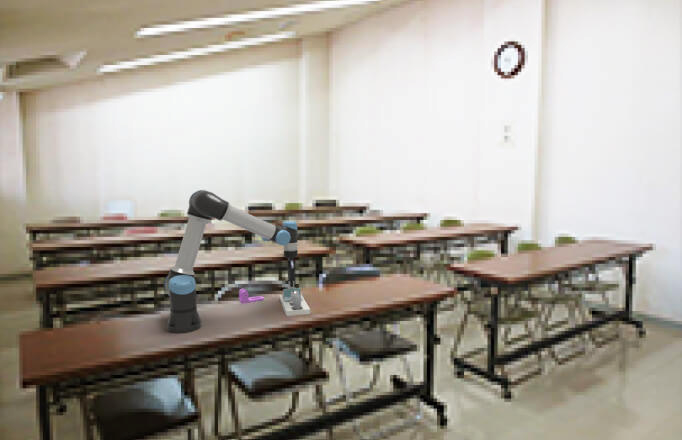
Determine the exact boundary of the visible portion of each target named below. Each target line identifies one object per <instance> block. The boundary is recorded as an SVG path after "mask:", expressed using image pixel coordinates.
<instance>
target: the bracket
mask: <svg viewBox="0 0 682 440" xmlns="http://www.w3.org/2000/svg"><path fill="white" fill-rule="evenodd" d="M238 297H239V300H238V301H239V302H240V304H242V305H244V304H250V302H252V303H257V302H256V301H259V302H263V301H264V300H265V297H264V296H261V295H260V296H250V297H249V292H248V291H247V290H246V289H245V288H241V289H239V292H238Z"/></svg>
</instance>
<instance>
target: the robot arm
mask: <svg viewBox="0 0 682 440" xmlns="http://www.w3.org/2000/svg"><path fill="white" fill-rule="evenodd" d="M186 215H187V217H188V220H187V223H186V227H185V231H184V234H183V238H182V241H181V243H180V246H179V247H180V248H179V251H178V253H177V257H176V261H175V263H174V266H172V267H170V270H169V272H168V275H167V276H166V277H165V280H164V286H163V287H164V290H165V292H166V293H167V295H168V297H169V309H170V310H169V311H170V313H169V315H168V321H167V324H166V329H168V330H167V331H168V332H170V331H171V332H170V333H175V332H177V334H179V333H180V334H181V333H190V332H192V331H196V330H199V328H201V327H202V319H201V316H200V314H199V312H198V309H197V308H198V307H197V290H196V289H197V282H196V279H195V275H196V274H195V272H194V267H195V263H196V260H197V257H198V253H199V249H200V247H201V242H202V240H203V236H204V233H205V231H206V226H207V223H209V222H211V220H212V219H215V220H218V221H220V222H221V221H225V222H227V223H230V224H233V225H235V226H236V227H239V228H242V229H244V230H246V231H247V232H251V233H253V234H255V235H257V236H259V237H261V240H262V241H263V242H273V243H276V244H278V245H280V246H283V247H282V249H283V257H284V258H286V259H287V260H286V265H287V282H288V289H294V288H295V279H296V278H295V275H296V274H295V272H296V271H295V270H296V261H295V258H297V257H298V255H299V253H298V246H299V243H298V223H297V222H296V221H295V220H294V221H293V220H288V221H287V220H285V221H283V223H282V225H274V224H271V223H270V222H268V221H265V220H263V219H261V218H258V217H256V216H254V215H252V214H250V213H247V212H245V211H243V210H241V209H239V208H237V207H235V206H232V205H231V204H230V202H228V201H227V200H225V199H224V198H223V199H222V198H221V197H220V196H218V195H217V194H215V193H214V192H212V191H208V190H205V189H200V190H197V191H195V192H193V193H192V194H191V195H190V196H189V200H188V209H187V212H186Z"/></svg>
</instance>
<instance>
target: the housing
mask: <svg viewBox="0 0 682 440" xmlns="http://www.w3.org/2000/svg"><path fill="white" fill-rule="evenodd" d="M278 295H279V296H278V297H279V298H278V299H279V301H280V304H281V306H282V309H283V311H284V314H285V316H286V317H291V316H292V317H293V316H304V315H310V314H311V308H310V306H309V305H308V303H307V302H306V301H307V300H305V298H304V296H303V294H301V295H293V306H291V301H287V302H285V300H284V298H283V295H282V294H278ZM301 297H302V300H301Z"/></svg>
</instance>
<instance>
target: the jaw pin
mask: <svg viewBox="0 0 682 440" xmlns="http://www.w3.org/2000/svg"><path fill="white" fill-rule="evenodd" d="M293 295H299V291H291V306H293Z"/></svg>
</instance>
